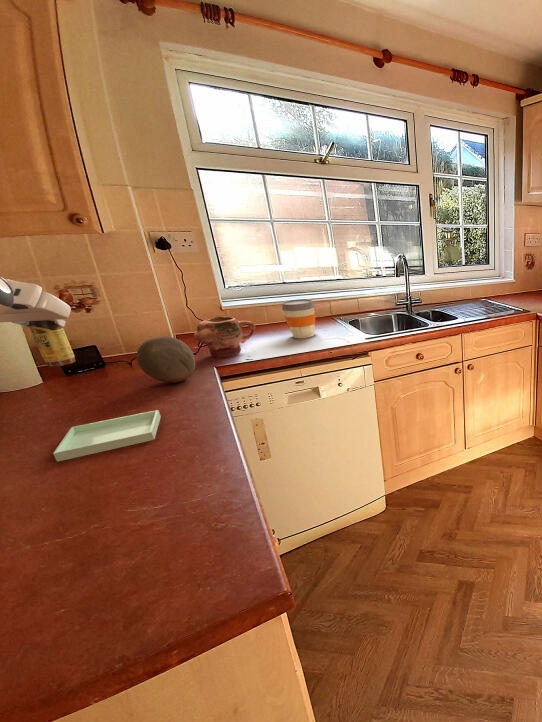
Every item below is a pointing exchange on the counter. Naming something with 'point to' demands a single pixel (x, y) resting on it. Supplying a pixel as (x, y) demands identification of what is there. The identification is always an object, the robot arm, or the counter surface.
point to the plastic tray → (108, 435)
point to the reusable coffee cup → (300, 317)
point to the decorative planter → (223, 335)
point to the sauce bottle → (52, 343)
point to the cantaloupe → (166, 359)
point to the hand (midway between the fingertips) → (48, 325)
